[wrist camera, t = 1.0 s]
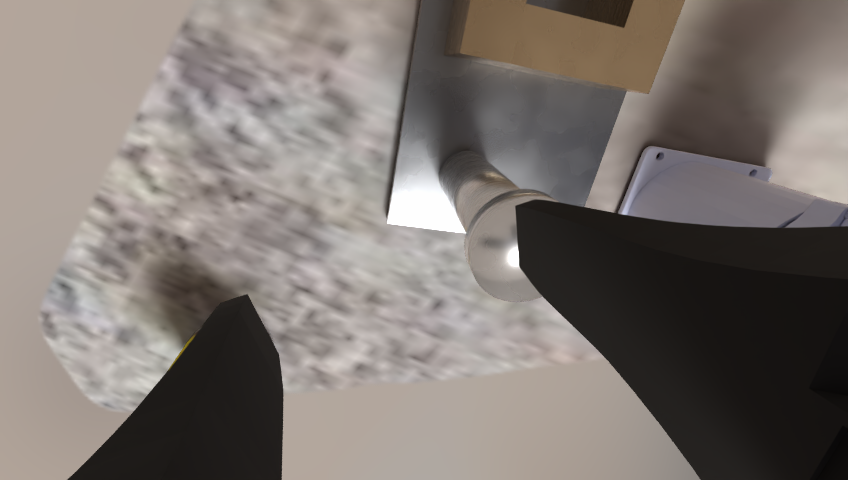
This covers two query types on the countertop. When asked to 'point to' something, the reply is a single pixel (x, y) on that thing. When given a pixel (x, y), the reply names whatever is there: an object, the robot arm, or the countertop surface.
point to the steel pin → (489, 223)
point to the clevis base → (520, 93)
